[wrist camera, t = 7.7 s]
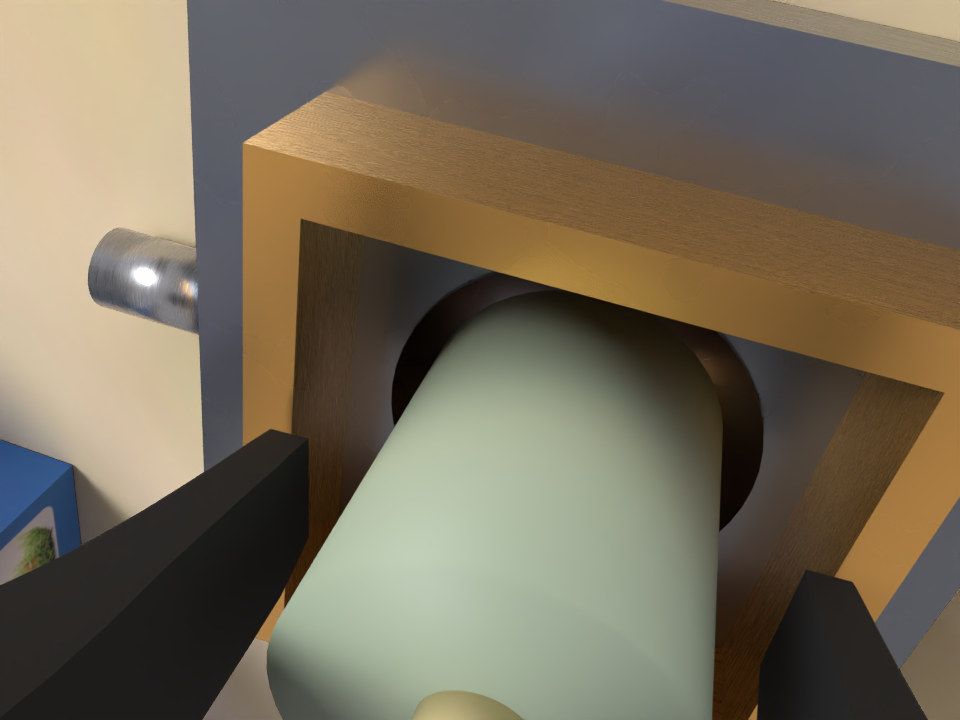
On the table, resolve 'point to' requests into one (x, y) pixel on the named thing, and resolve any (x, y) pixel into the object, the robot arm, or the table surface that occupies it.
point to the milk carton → (34, 510)
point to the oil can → (524, 534)
